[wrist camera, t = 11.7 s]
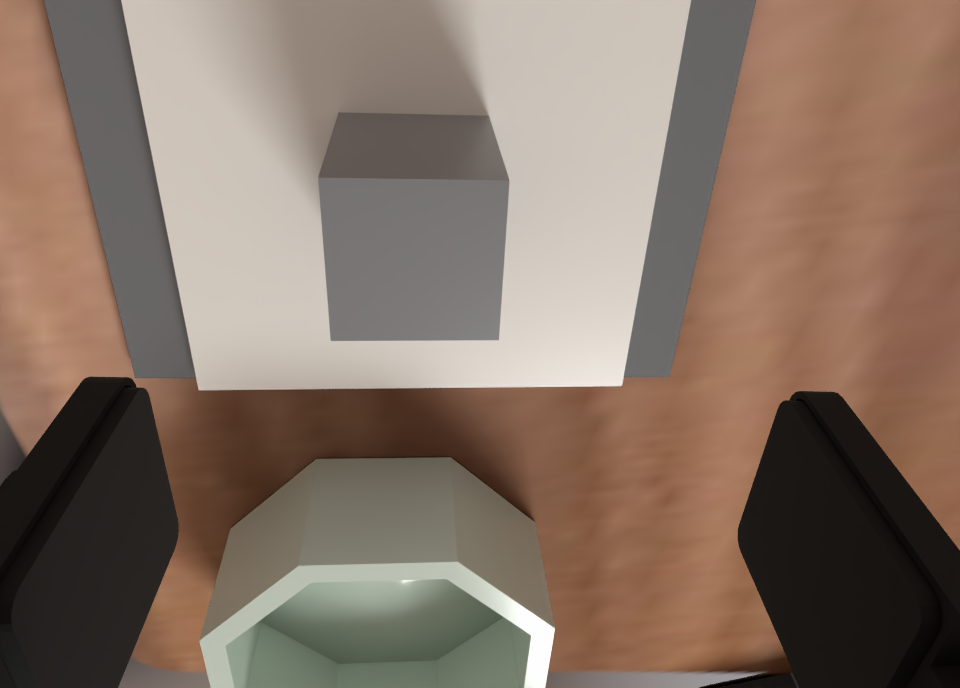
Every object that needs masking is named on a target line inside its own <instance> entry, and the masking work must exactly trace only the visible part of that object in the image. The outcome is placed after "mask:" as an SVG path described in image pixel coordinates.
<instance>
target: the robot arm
mask: <svg viewBox="0 0 960 688" xmlns="http://www.w3.org/2000/svg"><path fill="white" fill-rule="evenodd" d="M178 531H179V529H178V518H177V514H176V510H175V506H174V501H173V497H172V493H171V488H170V484H169V480H168V475H167V471H166V467H165V462H164V458H163V454H162V449H161V445H160V441H159V436H158V432H157V428H156V423H155V419H154V415H153V410H152V406H151V402H150V397H149V394H148V392H147V390H146V389H144V388H137V387H136V384H135V383H134V381H133V380H132V379H131V378H128V377H87V378H85V379H84V380H83V381H82V382H81V383H80V385H79V386H78V388H77V389H76V390H75V392H74V393H73V394H72V396H71V397H70V398H69V400H68V401H67V403H66V404H65V405H64V407H63V408H62V409H61V411H60V412H59V414H58V415H57V416H56V418H55V419H54V420H53V422H52V423H51V424H50V426H49V427H48V429H47V430H46V431H45V433H44V434H43V435H42V437H41V438H40V440H39V441H38V442H37V444H36V445H35V446H34V448H33V449H32V450H31V452H30V453H29V455H28V456H27V457H26V459H25V460H24V461H23V463H22V464H21V466H20V467H19V468H18V469H17V470H15V471H13V472H12V473H11V474H10V475H9V476H8V478H6V479H5V480H4V482H3V483H2V484H1V486H0V688H118V686H119V684H120V681H121V679H122V677H123V674H124V672H125V669H126V667H127V664H128V662H129V659H130V657H131V655H132V652H133V650H134V647H135V645H136V642H137V640H138V637H139V635H140V632H141V630H142V628H143V625H144V623H145V620H146V618H147V615H148V613H149V610H150V608H151V606H152V603H153V601H154V598H155V596H156V593H157V591H158V588H159V586H160V584H161V581H162V579H163V576H164V574H165V571H166V569H167V566H168V564H169V561H170V559H171V557H172V554H173V552H174V549H175V546H176V543H177V539H178ZM738 543H739V548H740V551H741V553H742V556H743V558H744V560H745V562H746V565H747V567H748V569H749V572H750V574H751V576H752V578H753V581H754V583H755V585H756V588H757V590H758V592H759V594H760V597H761V599H762V601H763V604H764V606H765V608H766V610H767V613H768V615H769V617H770V619H771V622H772V624H773V626H774V629H775V631H776V633H777V635H778V638H779V640H780V642H781V645H782V647H783V649H784V651H785V654H786V656H787V658H788V661H789V663H790V665H791V667H792V670H793V672H794V674H795V677H796V679H797V681H798V683H799V686H800V688H960V550H959V549H958V548H957V546H956V545H955V544H954V542H953V541H952V540H951V539H950V537H949V536H948V535H947V533H946V532H945V531H944V529H943V528H942V527H941V525H940V524H939V523H938V522H937V520H936V519H935V518H934V516H933V515H932V514H931V512H930V511H929V510H928V509H927V507H926V506H925V505H924V503H923V502H922V501H921V499H920V498H919V497H918V495H917V494H916V493H915V492H914V490H913V489H912V488H911V486H910V485H909V484H908V482H907V481H906V480H905V478H904V477H903V476H902V475H901V473H900V472H899V471H898V469H897V468H896V467H895V465H894V464H893V463H892V462H891V460H890V459H889V458H888V456H887V455H886V454H885V452H884V451H883V450H882V448H881V447H880V446H879V445H878V443H877V442H876V441H875V439H874V438H873V437H872V435H871V434H870V433H869V431H868V430H867V429H866V428H865V426H864V425H863V424H862V422H861V421H860V420H859V418H858V417H857V416H856V414H855V413H854V412H853V411H852V409H851V408H850V407H849V405H848V404H847V403H846V401H845V400H844V399H843V398H842V397H841V396H840V395H839V394H838V393H835V392H810V391H798V392H795V393H794V394H793V395H792V396H791V398H790V400H789V401H783V402H782V403H781V404H780V405H779V408H778V410H777V413H776V416H775V419H774V422H773V425H772V428H771V431H770V434H769V437H768V440H767V443H766V446H765V449H764V452H763V455H762V458H761V461H760V464H759V467H758V470H757V473H756V476H755V479H754V482H753V485H752V488H751V491H750V494H749V497H748V500H747V503H746V506H745V509H744V512H743V515H742V518H741V521H740V524H739V528H738Z"/></svg>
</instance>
